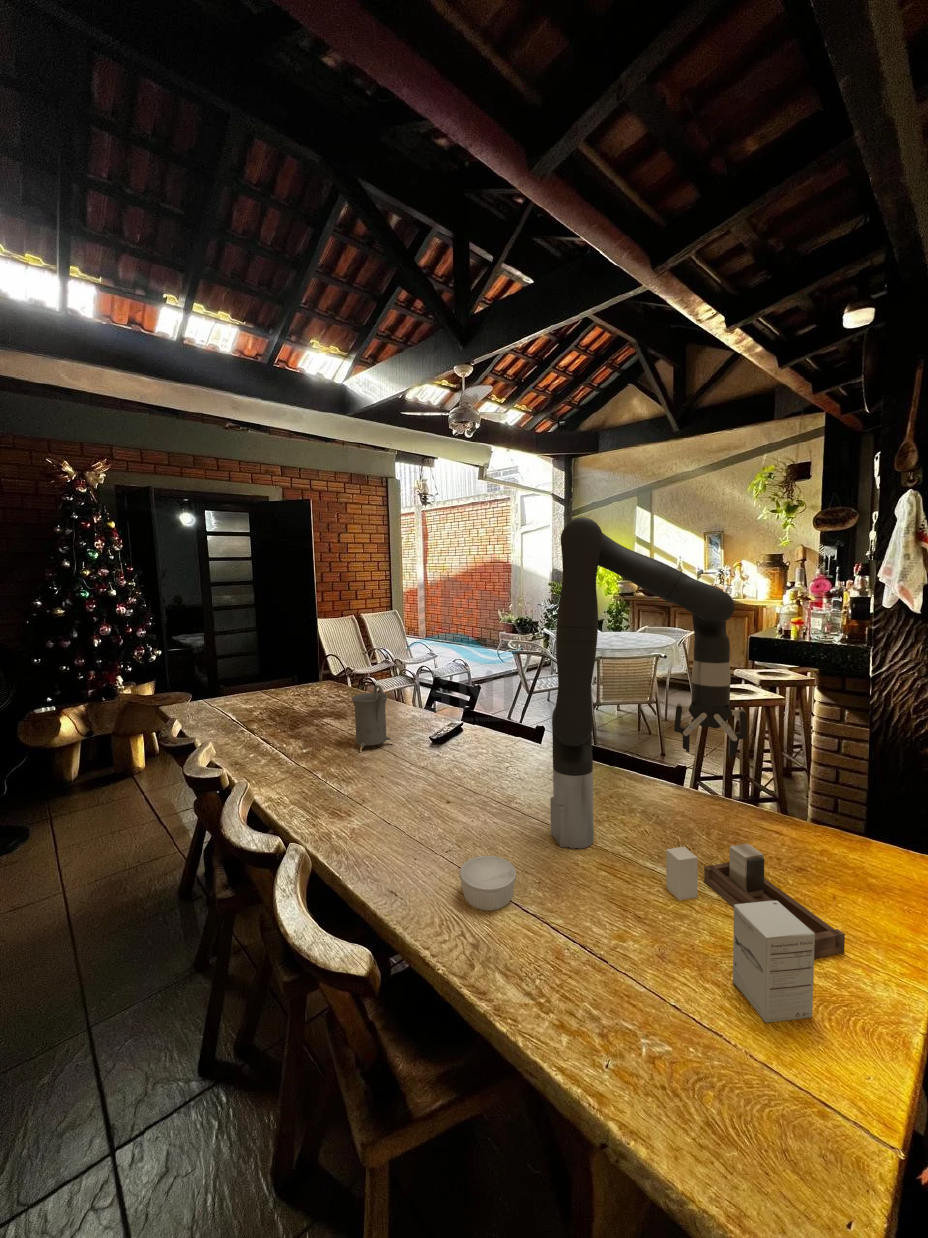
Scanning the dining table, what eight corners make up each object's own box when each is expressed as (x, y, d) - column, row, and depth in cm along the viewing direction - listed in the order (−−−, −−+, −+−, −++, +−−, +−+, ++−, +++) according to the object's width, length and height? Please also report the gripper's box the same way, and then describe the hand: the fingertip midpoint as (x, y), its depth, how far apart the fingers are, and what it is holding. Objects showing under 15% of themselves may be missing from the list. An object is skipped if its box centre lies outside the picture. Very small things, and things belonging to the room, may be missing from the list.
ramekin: (500, 923, 90) (499, 895, 89) (449, 903, 96) (448, 877, 95) (526, 890, 99) (525, 864, 99) (478, 874, 105) (477, 850, 105)
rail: (797, 962, 79) (798, 907, 78) (704, 881, 100) (704, 837, 99) (844, 952, 80) (845, 898, 80) (742, 875, 102) (743, 832, 101)
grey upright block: (678, 900, 94) (678, 860, 94) (664, 886, 99) (664, 847, 98) (697, 897, 95) (697, 857, 95) (682, 883, 100) (682, 845, 99)
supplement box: (730, 982, 75) (731, 902, 74) (776, 977, 76) (778, 898, 75) (764, 1025, 68) (765, 937, 67) (815, 1019, 68) (817, 932, 68)
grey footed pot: (344, 745, 193) (341, 682, 191) (378, 737, 202) (375, 676, 201) (366, 757, 178) (363, 689, 177) (401, 748, 188) (399, 683, 186)
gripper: (674, 682, 108) (673, 755, 109) (750, 687, 102) (747, 764, 103) (675, 676, 114) (674, 744, 116) (746, 680, 108) (744, 752, 110)
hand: (708, 753), depth 109 cm, fingers open, 8 cm apart
